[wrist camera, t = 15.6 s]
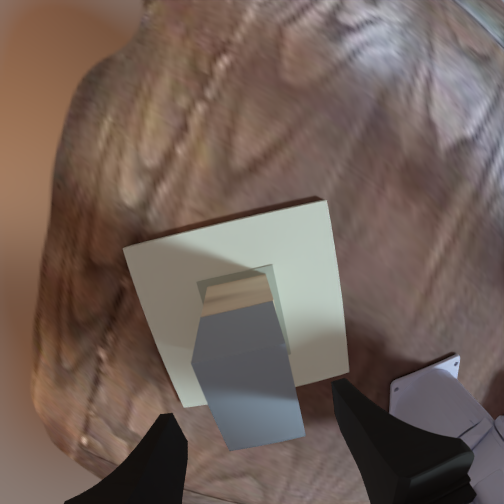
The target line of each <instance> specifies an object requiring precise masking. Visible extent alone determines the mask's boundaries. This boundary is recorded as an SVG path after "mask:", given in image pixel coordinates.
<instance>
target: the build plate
mask: <svg viewBox="0 0 504 504" xmlns="http://www.w3.org/2000/svg"><path fill="white" fill-rule="evenodd" d="M123 252H124V255H125V258H126V261H127V265H128V268H129V271H130V274H131V277H132V280H133V283H134V286H135V289H136V292H137V295H138V297H139V300H140V303H141V306H142V309H143V311H144V314H145V317H146V319H147V322H148V325H149V327H150V330H151V332H152V335H153V338H154V340H155V343H156V345H157V348H158V350H159V352H160V355H161V357H162V360H163V362H164V364H165V367H166V369H167V371H168V374H169V376H170V378H171V381H172V383H173V385H174V387H175V389H176V392H177V394H178V396H179V398H180V400H181V402H182V405H183V407H192V406H199V405H206V404H208V403H207V401H206V399H205V396H204V394H203V392H202V389H201V387H200V385H199V382H198V380H197V377H196V375H195V372H194V370H193V368H192V365H191V361H192V356H193V351H194V346H195V341H196V336H197V331H198V326H199V322H200V317H201V314H202V309H203V304H204V300H205V295H206V290H207V287H209V286H214V285H218V284H223V283H227V282H232V281H236V280H241V279H245V278H250V277H254V276H258V275H263V274H266V277H267V280H268V283H269V286H270V290H271V293H272V296H273V299H274V304H275V308H276V313H277V317H278V320H279V324H280V327H281V330H282V334H283V337H284V340H285V344H286V348H287V353H288V357H289V362H290V366H291V371H292V375H293V380H294V384H295V387H297V386H301V385H305V384H309V383H313V382H317V381H321V380H324V379H328V378H331V377H335V376H338V375H342V374H345V373H348V372H349V362H348V351H347V340H346V330H345V321H344V312H343V304H342V296H341V288H340V280H339V273H338V266H337V259H336V253H335V246H334V240H333V234H332V228H331V222H330V216H329V211H328V205H327V200H319V201H315V202H310V203H305V204H301V205H296V206H292V207H287V208H282V209H278V210H274V211H269V212H265V213H260V214H256V215H251V216H247V217H243V218H239V219H234V220H230V221H226V222H222V223H217V224H213V225H209V226H205V227H201V228H197V229H193V230H189V231H185V232H181V233H177V234H173V235H169V236H165V237H161V238H157V239H153V240H149V241H146V242H142V243H138V244H134V245H130V246H127V247H124V248H123Z"/></svg>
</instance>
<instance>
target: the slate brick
mask: <svg viewBox="0 0 504 504" xmlns="http://www.w3.org/2000/svg"><path fill="white" fill-rule="evenodd" d="M191 365H192V368H193V370H194V372H195V375H196V377H197V380H198V382H199V385H200V387H201V389H202V392H203V394H204V396H205V399H206V401H207V403H208V405H209V408H210V410H211V412H212V415H213V417H214V419H215V421H216V423H217V426H218V428H219V430H220V432H221V434H222V436H223V438H224V440H225V443H226V445H227V447H228V449H229V451H233V450H239V449H245V448H251V447H257V446H262V445H267V444H272V443H277V442H282V441H286V440H290V439H295V438H299V437H303V436H306V435H305V430H304V425H303V421H302V416H301V412H300V407H299V402H298V398H297V393H296V389H295V384H294V380H293V375H292V371H291V366H290V362H289V357H288V353H287V348H286V344H285V340H284V337H283V334H282V330H281V327H280V324H279V320H278V317H277V314H276V310H275V307H274V304H273V301H269V302H265V303H261V304H257V305H253V306H249V307H244V308H240V309H236V310H232V311H227V312H223V313H218V314H214V315H209V316H205V317H200V322H199V326H198V331H197V336H196V341H195V346H194V351H193V356H192V361H191Z"/></svg>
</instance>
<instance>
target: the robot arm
mask: <svg viewBox="0 0 504 504" xmlns="http://www.w3.org/2000/svg"><path fill="white" fill-rule="evenodd" d="M459 363H460V356H459V355H458V354H455V355H453V356H451V357H449V358H447V359H444V360H442V361H440V362H438V363H435V364H433V365H431V366H428V367H426V368H424V369H421V370H419V371H416V372H414V373H411V374H409V375H406V376H404V377H401V378H398V379H396V380H394V381H393V382H392V383H391V385H390V407H389V413H388V412H386V411H385V410H383V409H382V408H380V407H379V406H377V405H376V404H375V403H373V402H372V401H371V400H369V399H368V398H367V397H366V396H364V395H363V394H362V393H361V392H360V391H359V390H357V389H356V388H355V387H354V386H353V385H352V384H351V383H350V382H349V381H348V380H347V379H345V378H343V379H340V380H336V381H333V382H331V384H332V393H333V402H334V412H335V416H336V419H337V422H338V425H339V428H340V431H341V433H342V435H343V437H344V439H345V441H346V443H347V445H348V447H349V449H350V451H351V453H352V455H353V458H354V460H355V462H356V464H357V466H358V468H359V470H360V473H361V476H362V478H363V481H364V484H365V487H366V490H367V493H368V497H369V500H370V503H371V504H504V416H502V415H500V416H498V417H497V419H496V420H494V419H493V418H492V417H491V416H490V415H489V413H488V412H487V411H486V410H485V409H484V408H483V407H482V406H481V405H480V404H479V402H478V401H477V400H476V399H475V398H474V397H473V396H472V395H471V394H470V393H469V392H468V391H467V390H466V389H465V387H464V386H463V385H462V384H461V383H460V382H459V381H458V380H457V375H458V369H459ZM395 388H396V389H395ZM187 460H188V441H187V439H186V438H185V436H184V434H183V432H182V430H181V428H180V426H179V425H178V423H177V421H176V419H175V417H174V415H173V413H168V414H160V415H159V417H158V418H157V419H156V421H155V422H154V424H153V425H152V426H151V428H150V429H149V431H148V432H147V433H146V435H145V436H144V437H143V439H142V440H141V441H140V443H139V444H138V445H137V446H136V448H135V449H134V450H133V451H132V452H131V454H130V455H129V456H128V457H127V458H126V459H125V460H124V461H123V462H122V463H121V464H120V465H119V466H118V467H117V468H116V469H115V470H114V471H113V472H112V473H111V474H109V475H108V476H107V477H106V478H104V479H103V480H102V481H100V482H99V483H98V484H96V485H95V486H93V487H92V488H90V489H88V490H87V491H85V492H83V493H81V494H80V495H78V496H75V497H73V498H71V499H69V500H67V501H65V502H64V504H182V496H183V489H184V482H185V475H186V468H187Z"/></svg>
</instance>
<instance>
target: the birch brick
mask: <svg viewBox="0 0 504 504" xmlns="http://www.w3.org/2000/svg"><path fill="white" fill-rule="evenodd" d="M269 301H273V304H274V299H273V296H272V293H271V290H270V286H269V283H268V280H267V277H266V274H263V275H258V276H254V277H250V278H245V279H241V280H236V281H232V282H227V283H223V284H218V285H214V286H209V287H207V290H206V295H205V300H204V304H203V309H202V314H201V317H205V316H209V315H214V314H218V313H223V312H227V311H232V310H236V309H240V308H244V307H249V306H253V305H257V304H261V303H265V302H269ZM274 307H275V304H274ZM275 310H276V308H275ZM276 314H277V313H276Z"/></svg>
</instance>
